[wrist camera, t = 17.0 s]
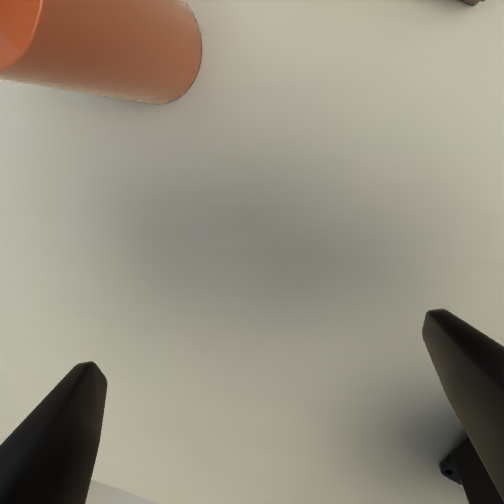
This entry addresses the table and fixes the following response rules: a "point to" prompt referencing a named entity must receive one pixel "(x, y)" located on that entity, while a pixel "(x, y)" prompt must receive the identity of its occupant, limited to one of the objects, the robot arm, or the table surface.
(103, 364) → the table surface
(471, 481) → the robot arm
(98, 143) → the table surface
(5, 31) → the vase
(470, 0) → the stand
